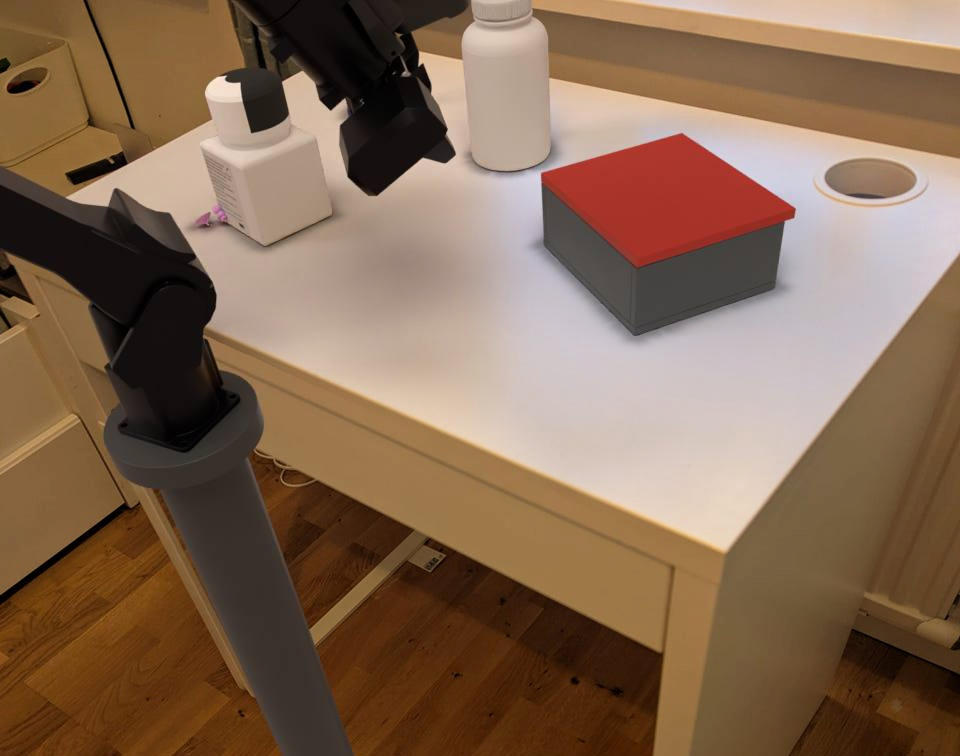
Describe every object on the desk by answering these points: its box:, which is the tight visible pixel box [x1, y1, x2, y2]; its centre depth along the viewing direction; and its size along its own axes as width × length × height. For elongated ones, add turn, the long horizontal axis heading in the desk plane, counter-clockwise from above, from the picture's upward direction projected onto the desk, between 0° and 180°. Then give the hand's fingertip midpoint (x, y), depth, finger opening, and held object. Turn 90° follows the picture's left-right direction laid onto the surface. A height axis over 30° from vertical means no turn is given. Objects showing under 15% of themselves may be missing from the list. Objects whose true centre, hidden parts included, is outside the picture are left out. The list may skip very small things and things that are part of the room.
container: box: [199, 66, 333, 247], centre depth 83 cm, size 8×8×13 cm
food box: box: [540, 182, 786, 336], centre depth 74 cm, size 12×15×6 cm
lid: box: [540, 132, 797, 268], centre depth 72 cm, size 13×15×1 cm
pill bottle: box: [461, 0, 552, 172], centre depth 88 cm, size 8×8×15 cm
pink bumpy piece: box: [194, 204, 228, 226], centre depth 87 cm, size 3×2×2 cm
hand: (450, 156), depth 65 cm, fingers closed
